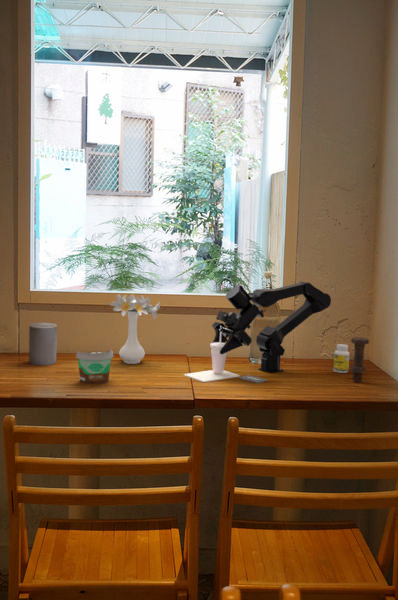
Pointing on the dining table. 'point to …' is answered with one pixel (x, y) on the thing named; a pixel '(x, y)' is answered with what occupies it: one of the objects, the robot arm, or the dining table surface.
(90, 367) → the food container
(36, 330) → the pillar candle
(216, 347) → the smoothie
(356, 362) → the bolt
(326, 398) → the dining table surface
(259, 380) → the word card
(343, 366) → the supplement bottle
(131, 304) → the flower vase
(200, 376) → the paper
